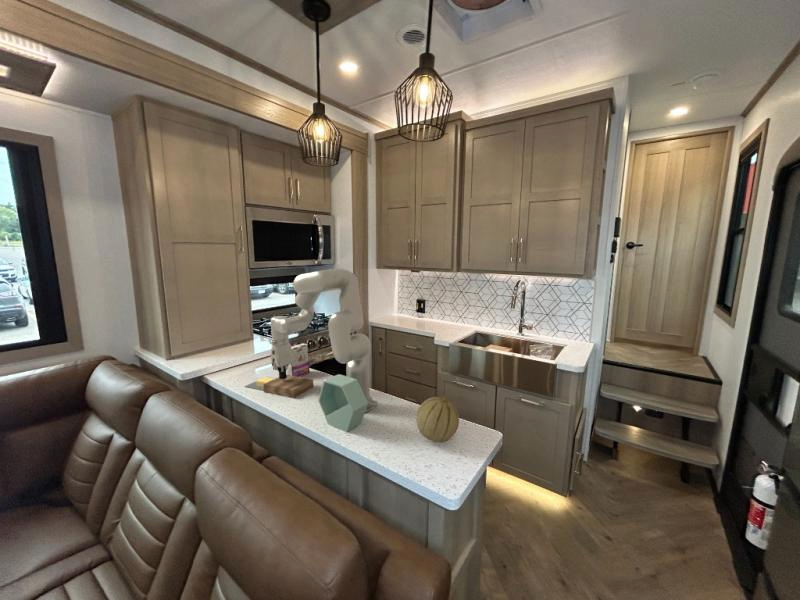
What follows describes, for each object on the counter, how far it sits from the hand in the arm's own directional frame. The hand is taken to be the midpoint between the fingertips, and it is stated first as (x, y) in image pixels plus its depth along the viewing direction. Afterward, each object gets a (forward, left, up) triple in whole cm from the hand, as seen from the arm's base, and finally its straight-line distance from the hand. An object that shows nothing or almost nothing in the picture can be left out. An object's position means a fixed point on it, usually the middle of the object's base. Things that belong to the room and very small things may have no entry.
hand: (283, 378), depth 159 cm
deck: (-3, 0, -5) cm, 6 cm away
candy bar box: (+6, -17, -5) cm, 19 cm away
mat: (+13, -1, -5) cm, 14 cm away
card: (+10, 0, -5) cm, 11 cm away
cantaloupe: (-82, +13, -5) cm, 84 cm away
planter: (-46, +17, -5) cm, 49 cm away
